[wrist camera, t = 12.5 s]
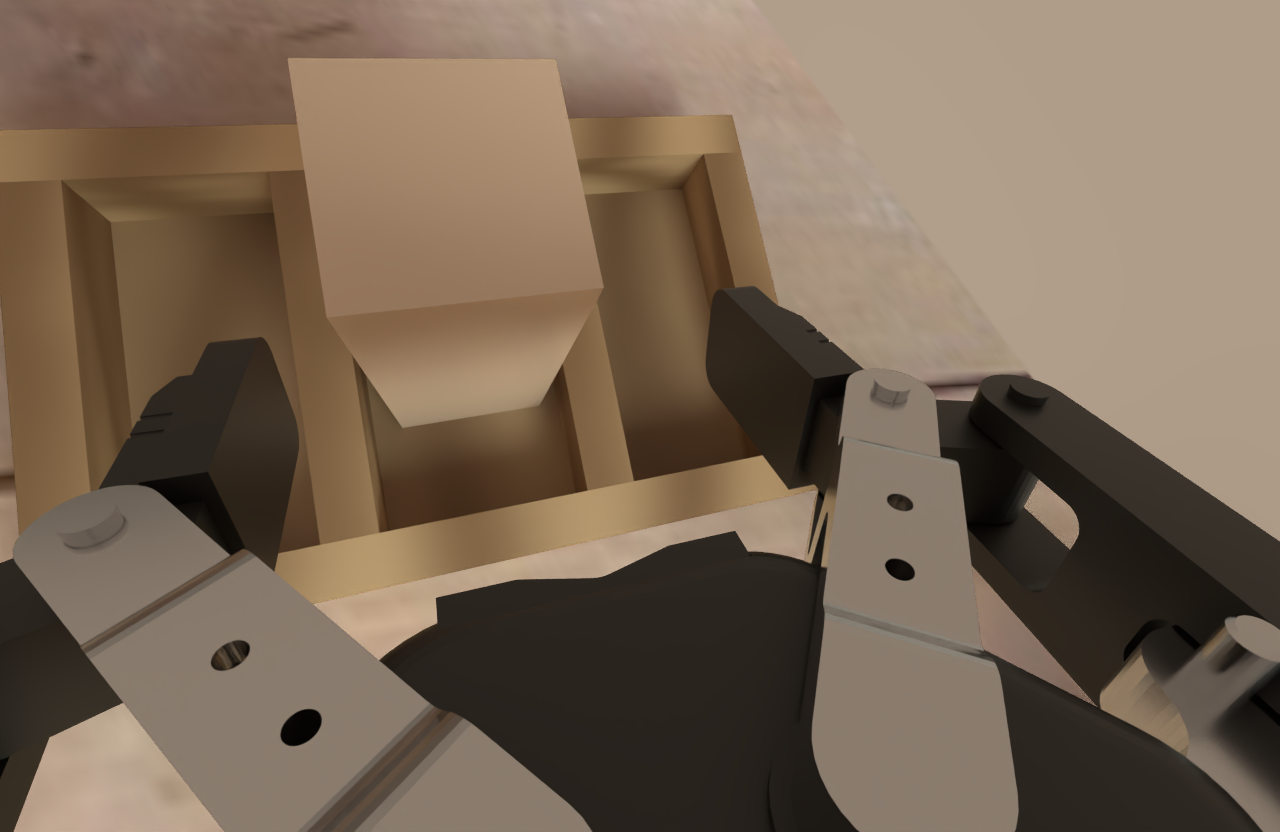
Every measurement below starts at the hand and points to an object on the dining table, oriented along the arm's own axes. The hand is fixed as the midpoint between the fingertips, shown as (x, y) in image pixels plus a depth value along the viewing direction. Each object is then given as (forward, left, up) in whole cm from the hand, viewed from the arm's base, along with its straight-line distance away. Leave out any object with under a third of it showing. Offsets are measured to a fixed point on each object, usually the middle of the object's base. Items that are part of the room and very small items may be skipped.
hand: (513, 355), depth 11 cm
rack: (+1, -3, -11) cm, 11 cm away
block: (+1, -3, -10) cm, 10 cm away
